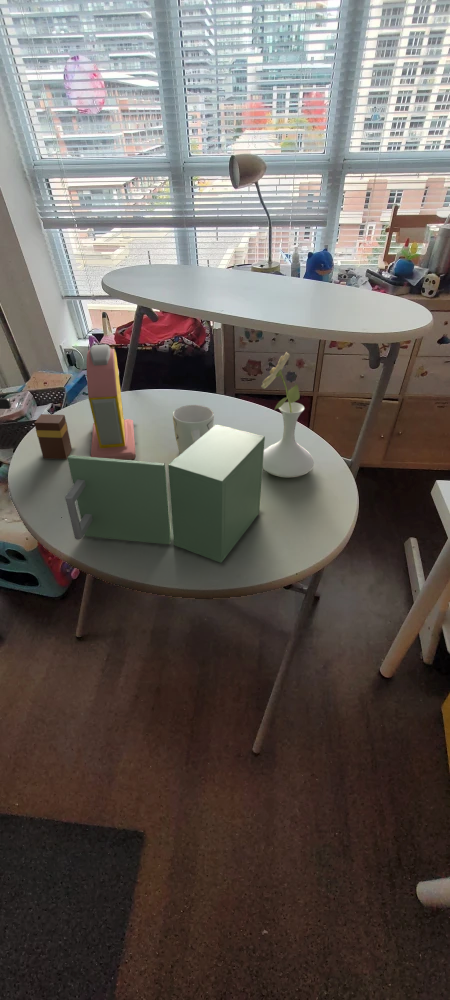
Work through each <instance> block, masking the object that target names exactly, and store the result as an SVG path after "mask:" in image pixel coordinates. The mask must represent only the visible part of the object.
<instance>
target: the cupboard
mask: <svg viewBox="0 0 450 1000" xmlns="http://www.w3.org/2000/svg"><path fill="white" fill-rule="evenodd" d="M265 440H266V436H264V435H260V434H256V433H252V432H248V431H245V430H241V429H236V428H234V427H229V426H226V425H225V426H224V425H222V424H214V425H213V428H211V429H210V430H209V431H208V432H207V433H205V434H204V435H203V436H202V437H201V438H199V439H198V440H197V441H196V442H195V443H193V444H192V445H191V446H190V447H189V448H188V449H186V450H185V451H184V452H183V453H182V454H180V453H179V455H178V456H177V457H176V458H174V459H173V460H171V462H170V463H168V464H167V465H168V466H167V468H168V480H169V493H170V494H169V496H170V507H171V508H170V510H171V522H172V536H173V545H174V546H175V547H178V548H180V549H184V550H186V551H188V552H191V553H194V554H196V555H199V556H202V557H204V558H207V559H209V560H212V561H215V562H218V563H220V564H222V563H223V562H224V560H225V559H226V557H227V556H228V555H229V554H230V552H231V551H232V549H233V548H234V547H235V546H236V544H237V543H238V542H239V541H240V539H241V538H242V537H243V535H244V534H245V533H246V531H247V530H248V529H249V527H250V526H251V525H252V524H253V522H254V521H255V519H256V518H257V517H258V516H259V514H260V509H261V507H260V506H261V495H262V481H263V455H264V450H265Z"/></svg>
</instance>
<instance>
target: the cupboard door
mask: <svg viewBox="0 0 450 1000" xmlns="http://www.w3.org/2000/svg"><path fill="white" fill-rule="evenodd" d="M67 462H68V467H69V472H70V476H71V480H72V487H71V488H70V489H69V491H67V493H66V495H64V500H65V503H66V508H67V512H68V516H69V520H70V524H71V528H72V532H73V536H74V539H75V540H76V541H79V540H80V541H81V540H82V539H83V538H84V536H85V537H92V538H101V539H112V540H120V541H121V540H122V541H130V542H131V541H132V542H141V543H149V544H150V543H151V544H158V545H159V544H161V545H168V546H169V545H171V542H172V537H171V525H170V512H169V498H168V486H167V472H166V463H165V462H154V461H144V460H142V461H140V460H133V459H131V460H121V459H109V458H97V457H91V456H85V455H73V454H69V456H68V457H67ZM76 503H77V506H76ZM77 508H78V509H77ZM78 512H79V514H78ZM79 517H80V519H79Z"/></svg>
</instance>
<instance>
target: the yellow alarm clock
mask: <svg viewBox="0 0 450 1000" xmlns="http://www.w3.org/2000/svg"><path fill="white" fill-rule="evenodd" d="M119 373H120V372H119V366H118V357H117V352H116V349H115V348H111V346H110V345H109V344H93V345H92V346H91V347H90V348H89V349H88V350H87V353H86V383H87V397H88V402H89V406H90V410H91V414H92V420H93V423H92V433H91V434H92V435H91V446H90V447H91V448H90V457H97V458H109V459H121V460H135V459H136V457H137V455H136V443H135V442H136V441H135V440H136V439H135V430H134V429H135V427H134V420H133V419H130V418H125V416H124V408H123V401H122V391H121V383H120V382H121V381H120V374H119Z"/></svg>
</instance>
